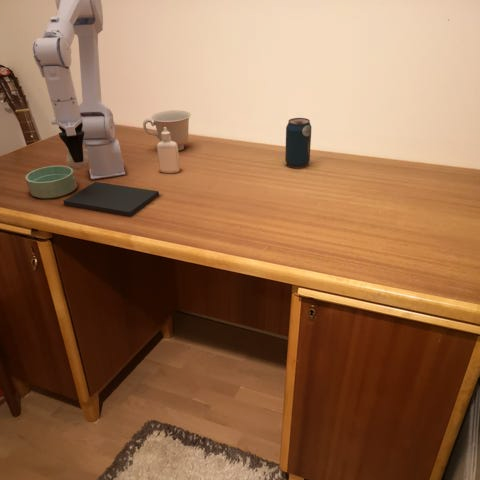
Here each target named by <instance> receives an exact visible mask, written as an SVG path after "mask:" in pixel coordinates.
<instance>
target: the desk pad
mask: <svg viewBox="0 0 480 480" xmlns="http://www.w3.org/2000/svg"><path fill="white" fill-rule="evenodd" d="M159 196H160V191H159V190H155V189H147V188H142V187H141V188H140V187H133V186H128V185H127V186H126V185H120V184H113V183H107V182H101V181H94V182H92V183H90V184H89V185H87V186H85V187H84V188H82V189H80V190H79V191H77V192H76V193H75V192H74V193H73V194H71V195H70V196H68V197H67V198H65V199H64V200H63V205H64V206H67V207H68V206H69V207H74V208H79V209H85V210H91V211H95V212H103V213H108V214H112V215H113V214H114V215H120V216H126V217H130V218H131V217H132V216H134V215H135V214H136V213H138V212H139V211H140V210H142V209H144V208H145V207H146V206H148V205H149V204H150V203H152V201H154V200H155V199H157V198H158V197H159Z"/></svg>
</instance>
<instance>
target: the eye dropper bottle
mask: <svg viewBox="0 0 480 480" xmlns="http://www.w3.org/2000/svg"><path fill="white" fill-rule="evenodd" d="M161 137H162V141H161V142H160V141H159V142H158V143H157V144H156V151H157V157H158V164H159V171H160V172H161V173H165V174H176V173H179V172H180V170H181V162H180V154H179V151H178V146H177V143H176V142H174V141H171V137H170V132H168V131H167V129H166V127H163V132H162V133H161Z"/></svg>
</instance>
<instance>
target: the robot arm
mask: <svg viewBox="0 0 480 480" xmlns="http://www.w3.org/2000/svg"><path fill="white" fill-rule="evenodd" d="M55 6H56V10H57V13H56V15H53V16H50V17H49V20H48V22H47V24H46V27H45V29H44V32H43V34H42V36H41V37H37V38H36V40H34V41H33V43H32V53H33V54H32V56H33V59H34V61H35V64H36V65H37V67H38V69H39V71H40V75H41V77H42V78H44V81H45V84H46V88H47V92H48V95H49V99H50V103H51V106H52V110H53V114H54V118H53V119H51V120H50V123H51V125H53V126H54V125H56V126H58V129H59V130H60V131H61V132H58V136H59V138H60V140H61V141H62V142H63V143H64V145H65V146H66V149H67V148H68V150H69V152H70V154H71V157H72V159H73V161H74V162H75V163H77V162H83V149H87V150H88V158H89V159H88V161H89V162H88V166H89V169H88V171H89V177H90V179H91V180H100V179H105V178H106V179H107V178H113V177H119V176H125V175H126V171H125V162H124V159H123V156H122V155H123V154H122V151H121V146H120V142H119V139H118V138H115V137H116V125H115V121H114V114H113V111H112V110H111V109H110V108H109V107H108V106H106V105H105V104H104V103H103V102H102V88H101V87H102V86H101V73H100V71H101V70H100V57H99V34H100V33H101V32H102V31H103V30H104V15H103V13H104V12H103V4H102V0H55ZM75 35H76V37H77V39H78V40H77V41H78V54H79V57H78V58H79V67H80V69H79V70H80V85H81V97H82V99H81V100H82V101H81V103H78V99H77V94H76V90H75V85H74V81H73V76H72V73H71V69H70V67H71V65H72V47H71V46H72V44H73V41H74V39H75ZM114 138H115V139H114ZM83 145H84V146H83Z"/></svg>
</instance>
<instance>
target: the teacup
mask: <svg viewBox="0 0 480 480" xmlns="http://www.w3.org/2000/svg"><path fill="white" fill-rule="evenodd" d="M191 116H192V115H191V113H190V112H189V111H186V110H178V109H177V110H165V111H164V110H163V111H160V112H156V113H154V114H153V115H152V116H151V118H145V119H144V120H143V122H142V128H143V130H144V132H146V133H147V134H148V135H151V136H155V137H156V138H157V139H158V140H159V142H161V141H162V137H161V133H162V132H163V127H166V129H167V131H168V132H170V137H171V141H174V142H176V143H177V146H178V152H179V151H182V150H184V149H185V146H184V145H185V144H186V143H187V142H188V140H189V128H190V127H189V125H190V124H189V123H190V118H191ZM148 123H150V125H151V127H154V126H155V129H156V132H154V131H151V130H149V128H148V127H147V124H148Z"/></svg>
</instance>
